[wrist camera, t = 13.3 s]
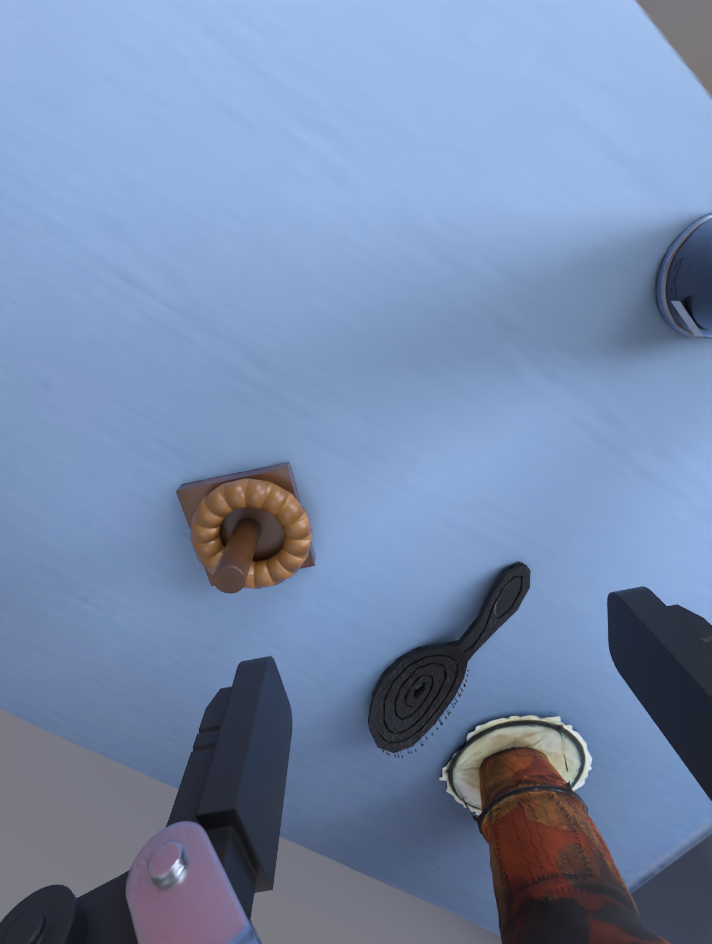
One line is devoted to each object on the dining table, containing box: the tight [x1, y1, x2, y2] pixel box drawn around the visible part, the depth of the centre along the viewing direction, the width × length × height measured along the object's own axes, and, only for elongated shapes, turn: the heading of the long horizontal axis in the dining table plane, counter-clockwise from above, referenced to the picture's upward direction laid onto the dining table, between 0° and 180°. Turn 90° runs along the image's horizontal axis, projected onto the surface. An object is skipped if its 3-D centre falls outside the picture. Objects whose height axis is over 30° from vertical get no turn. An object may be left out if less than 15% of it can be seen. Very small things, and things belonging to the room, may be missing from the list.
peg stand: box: [176, 463, 315, 593], centre depth 39 cm, size 10×10×10 cm
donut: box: [190, 478, 312, 589], centre depth 41 cm, size 10×10×2 cm
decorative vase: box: [439, 715, 670, 944], centre depth 44 cm, size 21×23×28 cm
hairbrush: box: [368, 562, 530, 758], centre depth 48 cm, size 8×4×25 cm
